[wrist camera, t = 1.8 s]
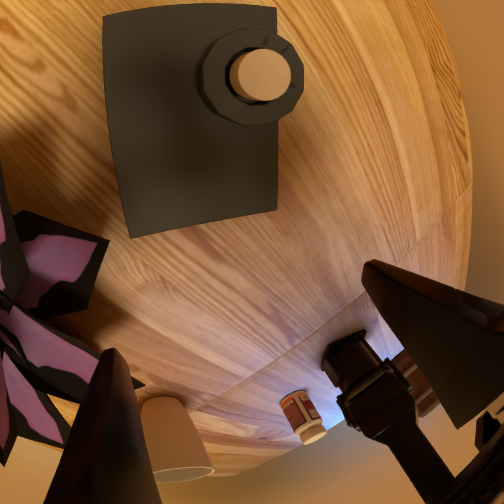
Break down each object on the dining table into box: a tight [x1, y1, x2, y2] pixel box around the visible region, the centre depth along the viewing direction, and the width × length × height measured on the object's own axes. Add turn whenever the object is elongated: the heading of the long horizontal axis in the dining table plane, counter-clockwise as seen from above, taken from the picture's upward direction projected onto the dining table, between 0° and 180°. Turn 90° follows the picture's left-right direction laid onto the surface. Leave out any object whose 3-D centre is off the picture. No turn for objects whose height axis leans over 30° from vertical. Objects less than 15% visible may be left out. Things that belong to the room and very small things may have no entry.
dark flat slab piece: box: [102, 3, 304, 238], centre depth 14 cm, size 11×14×3 cm
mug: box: [389, 350, 440, 418], centre depth 47 cm, size 16×12×15 cm
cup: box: [141, 397, 214, 483], centre depth 25 cm, size 8×8×10 cm
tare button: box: [229, 49, 291, 101], centre depth 12 cm, size 3×3×2 cm
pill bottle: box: [280, 391, 327, 444], centre depth 37 cm, size 5×5×8 cm
